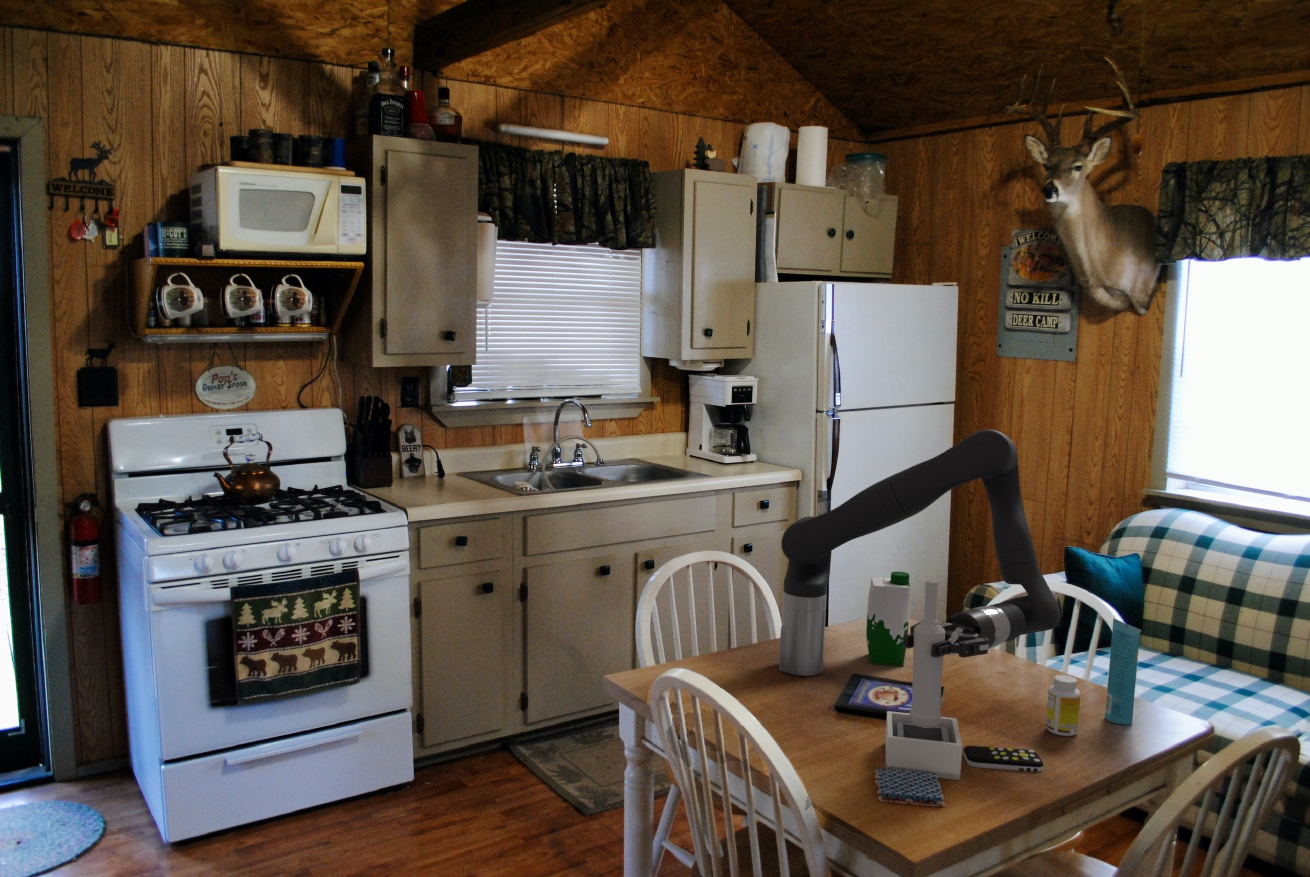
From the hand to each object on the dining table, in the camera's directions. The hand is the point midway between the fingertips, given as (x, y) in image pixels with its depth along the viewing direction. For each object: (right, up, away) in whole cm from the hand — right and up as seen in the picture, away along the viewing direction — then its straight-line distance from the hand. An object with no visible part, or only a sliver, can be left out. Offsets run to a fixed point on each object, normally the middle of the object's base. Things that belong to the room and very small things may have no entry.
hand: (919, 646), depth 171 cm
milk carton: (+7, -15, +57) cm, 59 cm away
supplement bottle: (+32, -20, +19) cm, 42 cm away
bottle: (+2, -14, +3) cm, 14 cm away
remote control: (+16, -22, +5) cm, 27 cm away
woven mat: (-4, -23, -7) cm, 24 cm away
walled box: (+1, -21, +4) cm, 21 cm away
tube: (+45, -20, +25) cm, 55 cm away
